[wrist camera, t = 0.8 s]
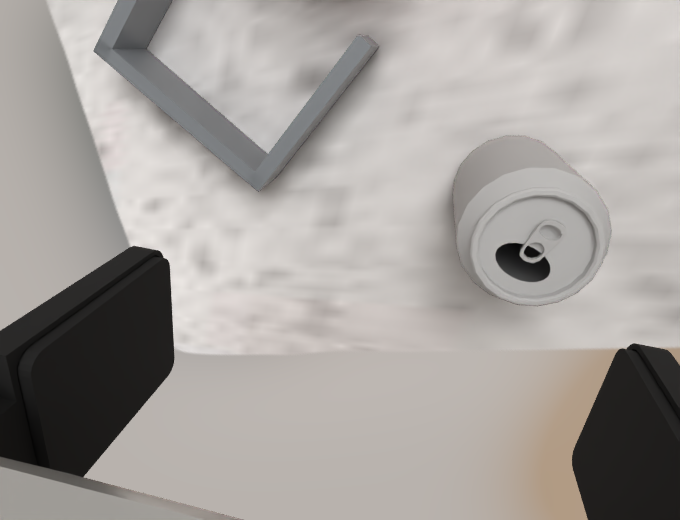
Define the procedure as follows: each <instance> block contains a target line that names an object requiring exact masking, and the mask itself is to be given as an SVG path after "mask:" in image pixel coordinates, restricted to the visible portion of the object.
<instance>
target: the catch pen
mask: <svg viewBox="0 0 680 520" xmlns="http://www.w3.org/2000/svg"><path fill="white" fill-rule="evenodd" d="M171 2H172V0H118V1H117V3H116V5H115V7H114V9H113V11H112V14H111V16H110V18H109V20H108V22H107V24H106V26H105V28H104V30H103V32H102V34H101V36H100V38H99V40H98V42H97V44H96V46H95V48H94V52H95V53H96V54H97V55H98V56H100V57H101V58H102V59H103V60H104V61H105V62H107V63H108V64H109V65H110V66H111V67H113V68H114V69H115V70H116V71H117V72H118V73H120V74H121V75H122V76H123V77H124V78H125V79H127V80H128V81H129V82H130V83H131V84H132V85H134V86H135V87H136V88H137V89H138V90H140V91H141V92H142V93H143V94H144V95H145V96H147V97H148V98H149V99H150V100H151V101H152V102H154V103H155V104H156V105H157V106H158V107H159V108H161V109H162V110H163V111H164V112H165V113H166V114H168V115H169V116H170V117H171V118H172V119H174V120H175V121H176V122H177V123H178V124H179V125H181V126H182V127H183V128H184V129H185V130H186V131H188V132H189V133H190V134H191V135H192V136H193V137H195V138H196V139H197V140H198V141H199V142H200V143H202V144H203V145H204V146H205V147H206V148H208V149H209V150H210V151H211V152H212V153H213V154H215V155H216V156H217V157H218V158H219V159H220V160H222V161H223V162H224V163H225V164H226V165H227V166H229V167H230V168H231V169H232V170H233V171H235V172H236V173H237V174H238V175H239V176H240V177H242V178H243V179H244V180H245V181H246V182H247V183H249V184H250V185H251V186H252V187H253V188H254V189H256V190H257V191H258V192H259V191H260V190H261V189H262V188H264V187H265V186H266V185H267V184H269V183H270V182H271V181H273V180H274V179H275V178H276V177H277V176H278V175H279V173H280V172H281V171H282V170H283V168H284V167H285V166H286V164H287V163H288V162H289V161H290V159H291V158H292V157H293V156H294V154H295V153H296V152H297V150H298V149H299V148H300V147H301V145H302V144H303V143H304V142H305V140H306V139H307V138H308V136H309V135H310V134H311V133H312V131H313V130H314V129H315V128H316V126H317V125H318V124H319V123H320V121H321V120H322V119H323V117H324V116H325V115H326V114H327V112H328V111H329V110H330V109H331V107H332V106H333V105H334V103H335V102H336V101H337V100H338V98H339V97H340V96H341V95H342V93H343V92H344V91H345V89H346V88H347V87H348V86H349V84H350V83H351V82H352V81H353V79H354V78H355V77H356V75H357V74H358V73H359V72H360V70H361V69H362V68H363V67H364V65H365V64H366V63H367V61H368V60H369V59H370V58H371V56H372V55H373V54H374V53H375V51H376V50H377V49H378V47H379V46H378V45H377V44H376V43H375V42H374V41H373V40H372V39H371V38H370V37H369V36H366V35H360V34H358V36H357V37H356V38H355V40H354V41H353V42H352V44H351V45H350V46H349V48H348V49H347V50H346V52H345V53H344V54H343V56H342V57H341V58H340V60H339V61H338V62H337V64H336V65H335V66H334V68H333V69H332V70H331V72H330V73H329V74H328V76H327V77H326V78H325V79H324V81H323V82H322V83H321V85H320V86H319V87H318V89H317V90H316V91H315V93H314V94H313V95H312V97H311V98H310V99H309V101H308V102H307V103H306V105H305V106H304V107H303V109H302V110H301V111H300V113H299V114H298V115H297V117H296V118H295V119H294V121H293V122H292V123H291V125H290V126H289V127H288V129H287V130H286V131H285V133H284V134H283V135H282V136H281V138H280V139H279V140H278V142H277V143H276V144H275V146H274V147H273V148H272V150H271V151H270V152H269V154H267V153H266V152H265V151H263V150H262V149H261V148H260V147H259V146H258V145H256V144H255V143H254V142H253V141H252V140H251V139H250V138H248V137H247V136H246V135H245V134H244V133H243V132H242V131H240V130H239V129H238V128H237V127H236V126H235V125H233V124H232V123H231V122H230V121H229V120H228V119H227V118H225V117H224V116H223V115H222V114H221V113H220V112H218V111H217V110H216V109H215V108H214V107H213V106H212V105H210V104H209V103H208V102H207V101H206V100H205V99H204V98H202V97H201V96H200V95H199V94H198V93H197V92H195V91H194V90H193V89H192V88H191V87H190V86H189V85H187V84H186V83H185V82H184V81H183V80H182V79H180V78H179V77H178V76H177V75H176V74H175V73H174V72H172V71H171V70H170V69H169V68H168V67H167V66H165V65H164V64H163V63H162V62H161V61H160V60H159V59H157V58H156V57H155V56H154V55H153V54H152V53H151V52H149V51H148V50H147V49H146V48H147V46H148V44H149V42H150V41H151V39H152V37H153V35H154V33H155V31H156V29H157V28H158V26H159V24H160V22H161V20H162V18H163V17H164V15H165V13H166V11H167V9H168V7H169V5H170V4H171Z"/></svg>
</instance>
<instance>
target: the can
mask: <svg viewBox="0 0 680 520" xmlns="http://www.w3.org/2000/svg"><path fill="white" fill-rule="evenodd" d="M453 205H454V218H455V232H456V246H457V250H458V254H459V257H460V261H461V265H462V267H463V268H464V269H465V271H466V272H467V274H468V275H469V277H470V278H471V279H472V281H473V282H474V283H475V284H477V285H478V286H479V287H481V288H482V289H483V290H485V291H486V292H487V293H489V294H490V295H493V296H496V297H498V298H500V299H503V300H506V301H509V302H511V303H514V304H517V305H529V306H541V305H546V304H551V303H557V302H560V301H562V300H564V299H566V298H568V297H570V296H572V295H574V294H576V293H578V292H579V291H580V290H581V289H582V288H583V287H584V286H586V285H587V284H588V283H589V282H590V281H591V280H592V279H593V278H594V276H595V274H596V273H597V271H598V270H599V268H600V266H601V265H602V263H603V259H604V258H605V256H606V255H607V251H608V247H609V242H610V238H611V233H612V230H611V224H610V217H609V211H608V209H607V207H606V205H605V204H604V202H603V200H602V198H601V197H600V195H599V193H598V192H597V190H596V189H595V188H593V187H592V186H591V185H590V184H589V183H588V182H587V181H586V180H585V179H584V178H583V177H582V176H580V175H579V174H578V173H577V172H576V171H575V170H574V169H573V168H572V167H571V166H570V165H569V164H568V163H566V162H565V161H564V160H563V159H562V158H561V157H560V156H559V155H558V154H557V153H556V152H554V151H553V150H552V149H551V148H549V147H548V146H547V145H546V144H544V143H543V142H542V141H539V140H536V139H533V138H530V137H527V136H503V137H499V138H496V139H493V140H489V141H487V142H485V143H484V144H482V145H481V146H479V147H478V148H476V149H475V150H473V151H472V152H471V153H470V154H469V156H468V157H467V158H466V159H465V160H464V162H463V163H462V164H461V165H460V168H459V170H458V173H457V175H456V177H455V180H454V189H453Z"/></svg>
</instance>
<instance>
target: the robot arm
mask: <svg viewBox="0 0 680 520" xmlns="http://www.w3.org/2000/svg"><path fill="white" fill-rule="evenodd" d="M173 364H174V342H173V322H172V302H171V282H170V265H169V262H168V260H167V259H165V258H163V255H162V253H161V252H160V251H158V250H152V249H147V248H142V247H137V246H132V247H130V248H128V249H127V250H125V251H124V252H122V253H121V254H119V255H117V256H116V257H114V258H113V259H112V260H110V261H108V262H107V263H105V264H103V265H102V266H101V267H99V268H97V269H96V270H94V271H93V272H91V273H90V274H88V275H86V276H85V277H83V278H82V279H80V280H79V281H77V282H75V283H74V284H73V285H71V286H69V287H68V288H66V289H65V290H63V291H61V292H60V293H58V294H57V295H55V296H54V297H52V298H51V299H49V300H48V301H46V302H44V303H43V304H41V305H40V306H38V307H37V308H35V309H34V310H32V311H30V312H29V313H27V314H26V315H24V316H23V317H22V318H20V319H18V320H17V321H15V322H13V323H12V324H10V325H9V326H7V327H6V328H4V329H2V330H1V331H0V520H242V519H239V518H235V517H231V516H227V515H224V514H220V513H216V512H212V511H208V510H205V509H201V508H197V507H193V506H190V505H186V504H182V503H178V502H175V501H171V500H167V499H163V498H159V497H155V496H152V495H147V494H144V493H140V492H136V491H133V490H129V489H125V488H121V487H118V486H114V485H110V484H106V483H102V482H99V481H95V480H91V479H87V478H83V477H84V475H85V474H86V473H87V472H88V471H89V469H90V468H91V467H92V466H93V465H94V463H95V462H96V461H97V460H98V459H99V458H100V456H101V455H102V454H103V453H104V452H105V450H106V449H107V448H108V447H109V446H110V444H111V443H112V442H113V441H114V440H115V438H116V437H117V436H118V435H119V434H120V432H121V431H122V430H123V429H124V428H125V426H126V425H127V424H128V423H129V422H130V420H131V419H132V418H133V417H134V416H135V415H136V413H137V412H138V411H139V410H140V409H141V407H142V406H143V405H144V404H145V403H146V401H147V400H148V399H149V398H150V397H151V395H152V394H153V393H154V392H155V391H156V390H157V388H158V387H159V386H160V385H161V384H162V382H163V381H164V380H165V379H166V378H167V376H168V375H169V374H170V372H171V370H172V367H173ZM572 466H573V471H574V474H575V477H576V481H577V484H578V488H579V491H580V494H581V498H582V501H583V504H584V508H585V511H586V514H587V518H588V520H680V365H679V364H678V362H677V361H676V360H675V358H674V357H673V356H672V354H671V353H670V352H669V351H668V350H665V349H660V348H655V347H650V346H645V345H640V344H635V343H634V344H631V345H630V346H629V347H628V348H627V349H619V350H618V351H617V353H616V355H615V357H614V359H613V361H612V363H611V366H610V368H609V370H608V373H607V375H606V377H605V379H604V382H603V384H602V386H601V388H600V391H599V393H598V395H597V398H596V400H595V402H594V405H593V407H592V409H591V411H590V414H589V416H588V418H587V421H586V423H585V425H584V427H583V430H582V432H581V434H580V436H579V439H578V441H577V443H576V445H575V448H574V451H573V455H572Z"/></svg>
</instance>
